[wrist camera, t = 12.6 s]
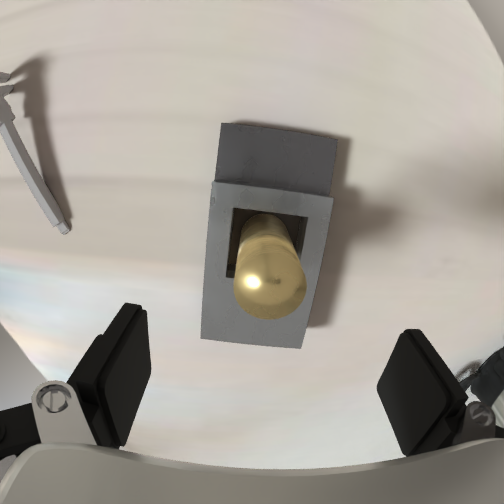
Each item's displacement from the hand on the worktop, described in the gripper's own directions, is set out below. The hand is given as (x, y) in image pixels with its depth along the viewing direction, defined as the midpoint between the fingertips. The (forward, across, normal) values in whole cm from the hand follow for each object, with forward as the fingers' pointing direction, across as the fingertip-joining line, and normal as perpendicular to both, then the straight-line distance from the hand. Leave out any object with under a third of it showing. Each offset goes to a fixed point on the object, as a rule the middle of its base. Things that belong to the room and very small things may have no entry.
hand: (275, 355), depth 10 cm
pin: (+16, 0, +1) cm, 17 cm away
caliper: (+17, +24, -6) cm, 30 cm away
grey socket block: (+16, 0, +1) cm, 16 cm away
